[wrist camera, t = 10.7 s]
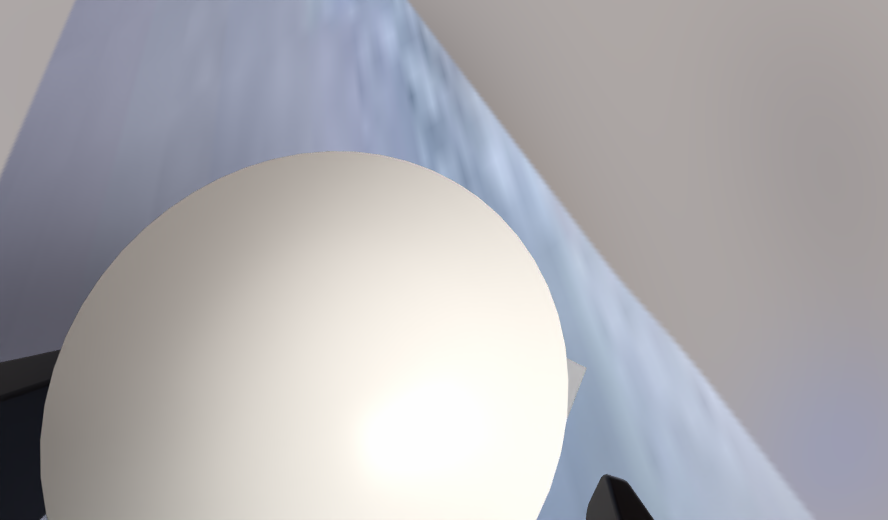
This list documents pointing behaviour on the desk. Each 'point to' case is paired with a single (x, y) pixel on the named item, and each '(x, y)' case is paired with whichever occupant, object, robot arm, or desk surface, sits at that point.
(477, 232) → the white cylinder
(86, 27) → the desk surface
